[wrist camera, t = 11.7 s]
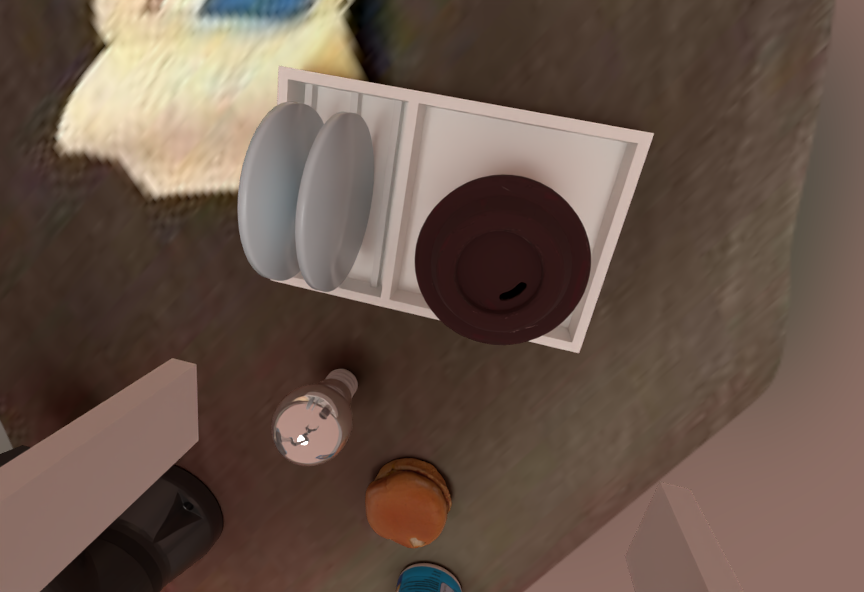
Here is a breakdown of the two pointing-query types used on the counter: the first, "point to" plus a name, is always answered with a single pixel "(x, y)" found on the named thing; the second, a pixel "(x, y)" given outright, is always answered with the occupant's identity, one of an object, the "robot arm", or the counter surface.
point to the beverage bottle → (427, 579)
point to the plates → (306, 195)
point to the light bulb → (315, 420)
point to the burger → (408, 502)
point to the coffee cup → (502, 259)
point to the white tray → (469, 178)
